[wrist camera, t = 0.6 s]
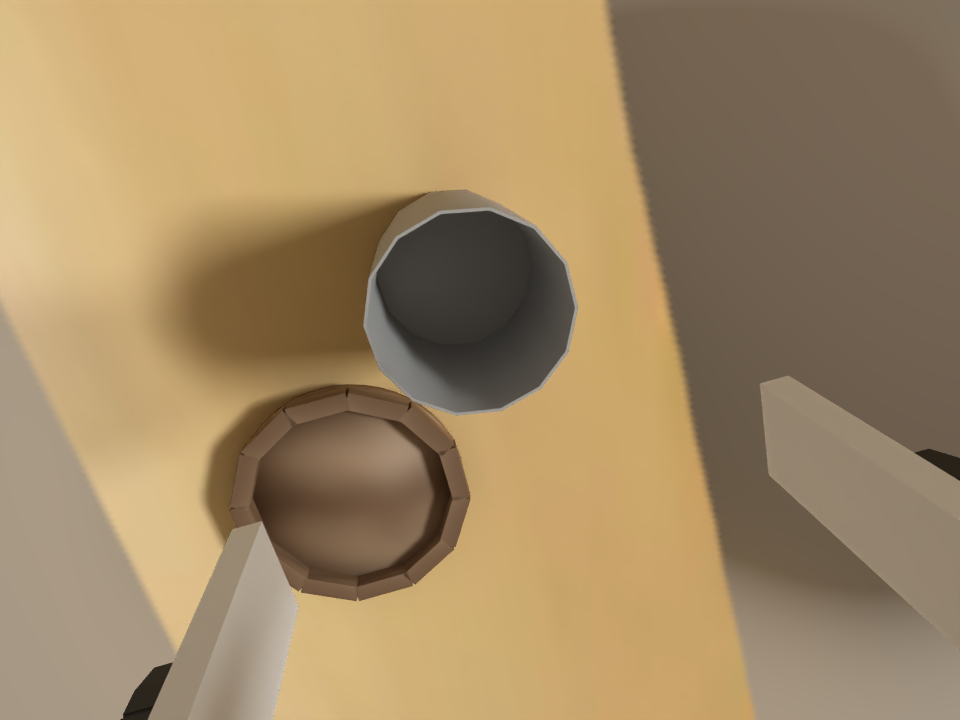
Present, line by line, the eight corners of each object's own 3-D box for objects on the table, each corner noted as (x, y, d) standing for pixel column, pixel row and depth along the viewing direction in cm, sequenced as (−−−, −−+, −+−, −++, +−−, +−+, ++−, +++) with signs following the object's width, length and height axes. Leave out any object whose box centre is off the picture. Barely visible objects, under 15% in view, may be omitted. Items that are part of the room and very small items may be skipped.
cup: (471, 370, 36) (494, 449, 27) (345, 291, 34) (323, 348, 24) (560, 247, 34) (618, 285, 25) (433, 156, 32) (445, 160, 23)
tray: (205, 419, 35) (195, 434, 34) (431, 358, 36) (432, 368, 34) (286, 602, 40) (280, 622, 38) (486, 546, 40) (490, 564, 38)
